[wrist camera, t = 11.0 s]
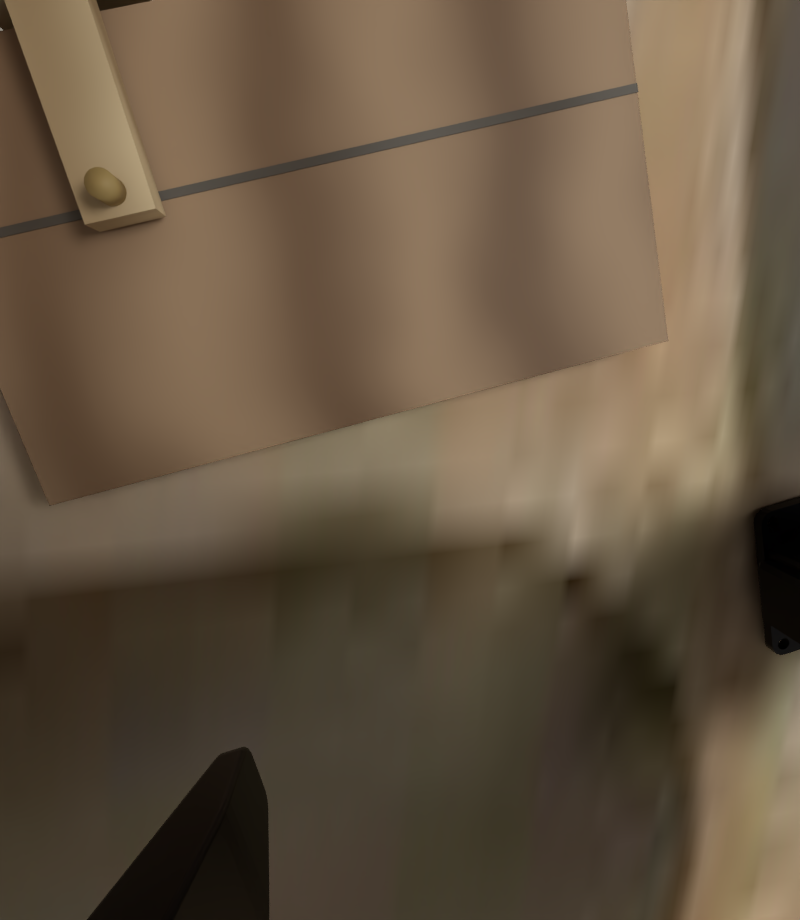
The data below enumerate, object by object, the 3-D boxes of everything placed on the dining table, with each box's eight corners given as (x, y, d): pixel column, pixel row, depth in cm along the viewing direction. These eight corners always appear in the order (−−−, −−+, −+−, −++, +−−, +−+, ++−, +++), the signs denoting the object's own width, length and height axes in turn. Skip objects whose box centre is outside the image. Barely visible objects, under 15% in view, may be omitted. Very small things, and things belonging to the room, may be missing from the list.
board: (581, -45, 17) (614, -93, 15) (635, 340, 20) (668, 340, 18) (-82, 92, 16) (-140, 58, 14) (77, 488, 19) (48, 505, 17)
